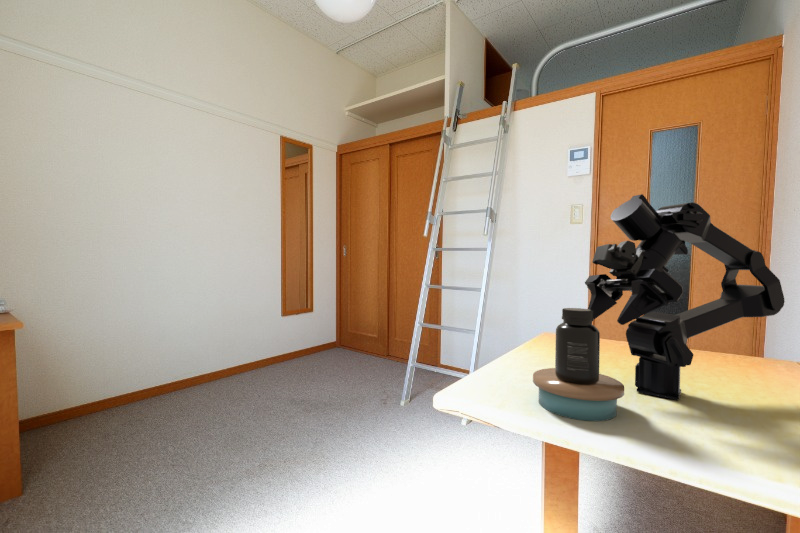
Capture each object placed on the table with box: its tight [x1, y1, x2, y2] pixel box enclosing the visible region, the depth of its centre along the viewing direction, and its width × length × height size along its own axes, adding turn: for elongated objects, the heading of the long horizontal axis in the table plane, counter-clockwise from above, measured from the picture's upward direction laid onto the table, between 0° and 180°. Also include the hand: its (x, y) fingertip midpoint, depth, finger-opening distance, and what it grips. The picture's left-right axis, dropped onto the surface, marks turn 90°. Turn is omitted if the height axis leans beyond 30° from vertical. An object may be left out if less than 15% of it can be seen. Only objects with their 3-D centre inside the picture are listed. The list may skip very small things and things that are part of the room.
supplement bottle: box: [554, 307, 601, 385], centre depth 64 cm, size 7×7×12 cm
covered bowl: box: [532, 367, 625, 422], centre depth 64 cm, size 14×14×4 cm
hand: (602, 321), depth 68 cm, fingers open, 9 cm apart
